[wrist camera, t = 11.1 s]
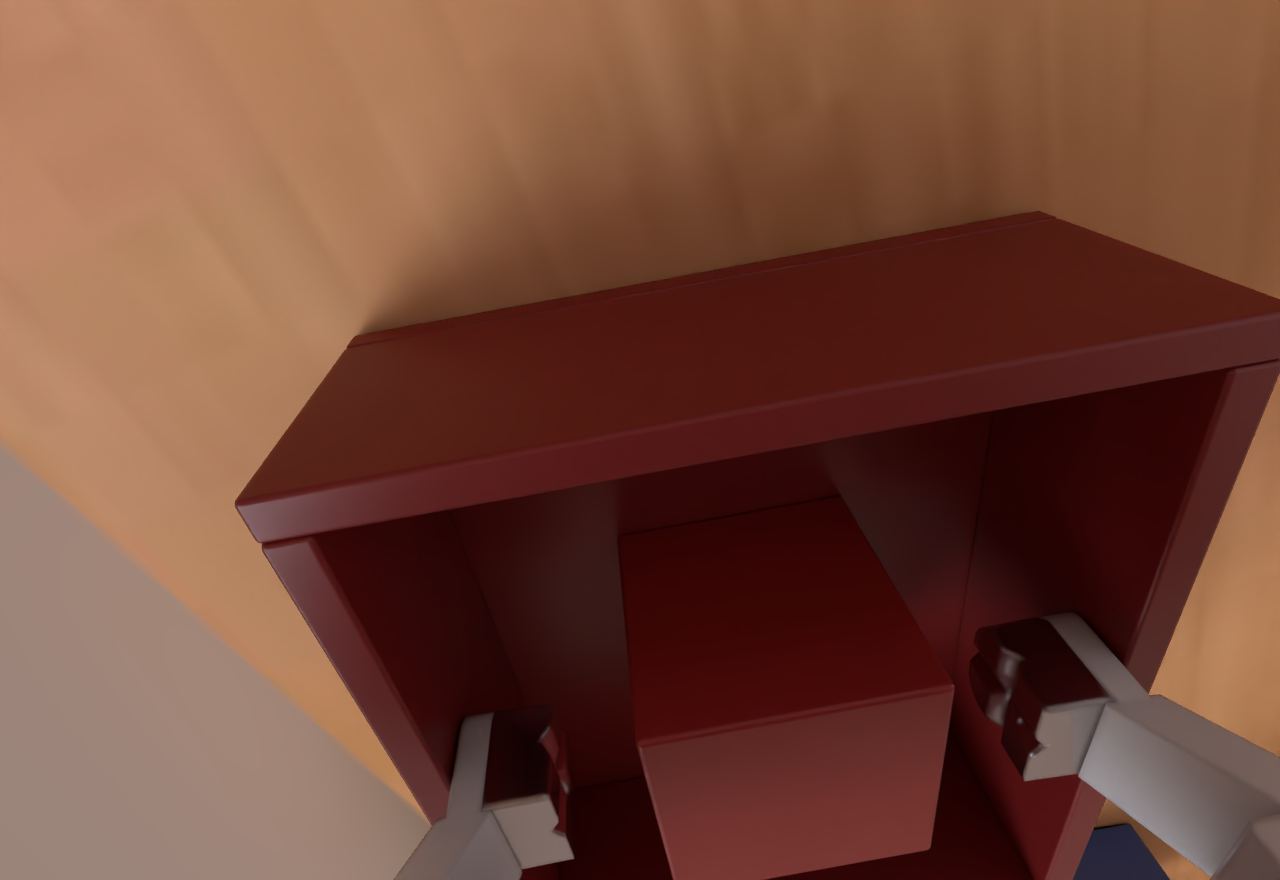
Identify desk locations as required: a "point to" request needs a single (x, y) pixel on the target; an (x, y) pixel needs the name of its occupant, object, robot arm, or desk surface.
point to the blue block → (1118, 857)
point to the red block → (780, 694)
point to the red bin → (772, 493)
